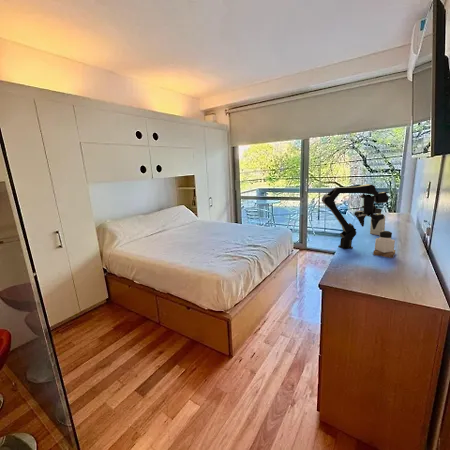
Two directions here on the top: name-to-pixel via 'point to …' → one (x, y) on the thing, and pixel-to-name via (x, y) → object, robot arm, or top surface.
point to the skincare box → (378, 227)
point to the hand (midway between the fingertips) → (368, 227)
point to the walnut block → (387, 254)
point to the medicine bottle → (385, 242)
